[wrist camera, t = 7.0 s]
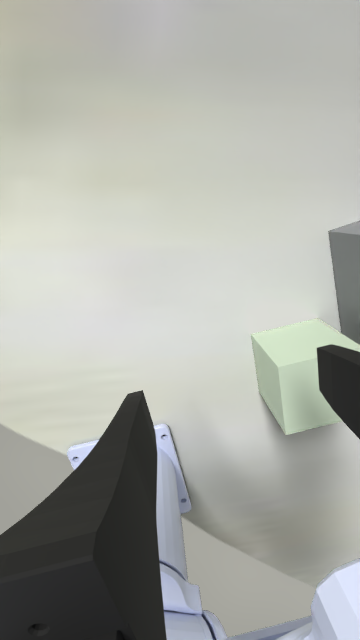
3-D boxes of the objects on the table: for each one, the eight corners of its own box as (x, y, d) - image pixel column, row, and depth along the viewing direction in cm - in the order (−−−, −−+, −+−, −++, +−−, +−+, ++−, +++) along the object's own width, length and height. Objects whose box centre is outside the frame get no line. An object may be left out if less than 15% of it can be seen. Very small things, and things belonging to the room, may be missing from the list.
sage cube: (320, 375, 24) (362, 416, 19) (258, 391, 24) (285, 435, 19) (316, 317, 22) (362, 346, 18) (250, 333, 22) (277, 367, 17)
